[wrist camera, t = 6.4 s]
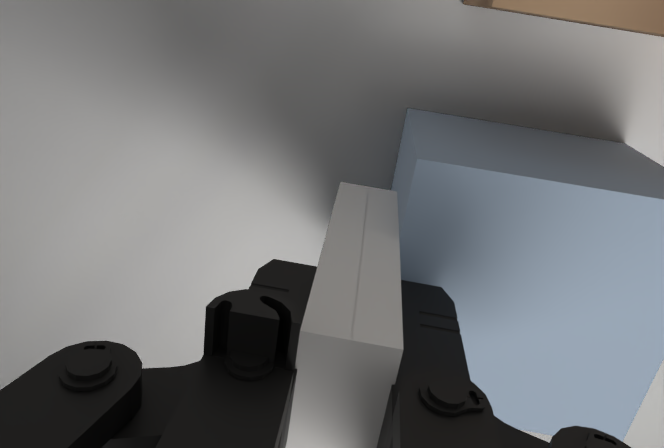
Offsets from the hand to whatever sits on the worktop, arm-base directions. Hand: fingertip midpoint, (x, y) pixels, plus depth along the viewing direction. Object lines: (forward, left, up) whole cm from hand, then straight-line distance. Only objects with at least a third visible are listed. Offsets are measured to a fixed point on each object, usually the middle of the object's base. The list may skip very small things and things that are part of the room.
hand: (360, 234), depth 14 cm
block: (+4, 0, -2) cm, 4 cm away
